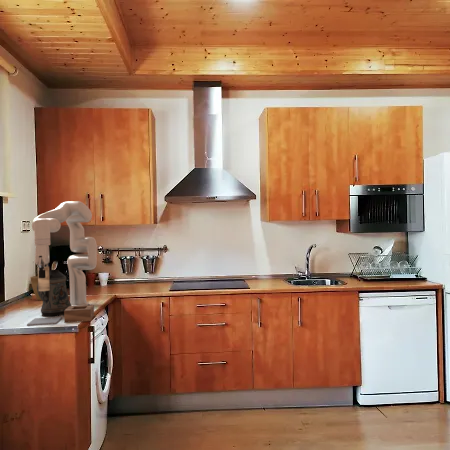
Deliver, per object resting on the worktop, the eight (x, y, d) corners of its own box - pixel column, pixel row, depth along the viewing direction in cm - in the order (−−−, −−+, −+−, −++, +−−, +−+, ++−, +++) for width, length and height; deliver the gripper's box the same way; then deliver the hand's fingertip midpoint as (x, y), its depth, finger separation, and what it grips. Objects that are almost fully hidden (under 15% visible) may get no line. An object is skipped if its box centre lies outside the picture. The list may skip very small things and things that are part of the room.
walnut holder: (69, 317, 241) (69, 306, 241) (94, 315, 243) (93, 304, 243) (64, 322, 228) (64, 310, 228) (90, 320, 230) (90, 309, 230)
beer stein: (75, 310, 260) (74, 267, 259) (64, 317, 240) (63, 271, 240) (47, 311, 259) (45, 268, 259) (34, 318, 240) (32, 272, 240)
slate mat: (34, 319, 237) (34, 318, 237) (62, 318, 239) (62, 316, 239) (27, 325, 223) (27, 324, 223) (56, 324, 225) (56, 322, 225)
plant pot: (59, 297, 308) (58, 274, 308) (45, 301, 294) (44, 277, 294) (41, 297, 312) (40, 274, 312) (26, 301, 298) (25, 277, 298)
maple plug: (40, 289, 233) (39, 267, 233) (50, 289, 234) (50, 266, 234) (37, 291, 227) (36, 268, 227) (48, 290, 228) (47, 267, 228)
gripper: (39, 242, 238) (40, 275, 238) (30, 243, 221) (31, 279, 221) (54, 241, 239) (55, 275, 239) (46, 242, 222) (47, 279, 223)
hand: (43, 277), depth 230 cm, fingers closed on maple plug, 5 cm apart
